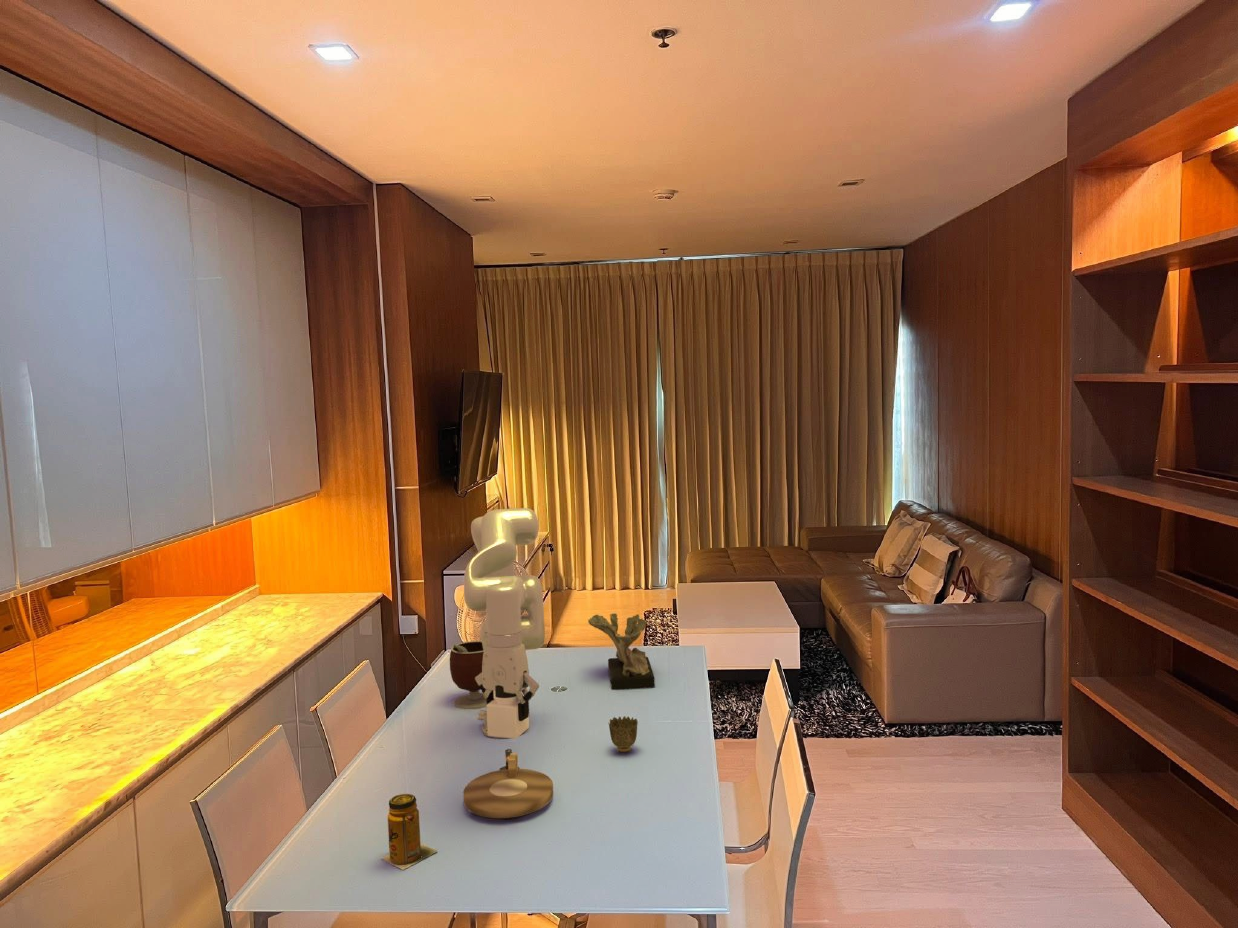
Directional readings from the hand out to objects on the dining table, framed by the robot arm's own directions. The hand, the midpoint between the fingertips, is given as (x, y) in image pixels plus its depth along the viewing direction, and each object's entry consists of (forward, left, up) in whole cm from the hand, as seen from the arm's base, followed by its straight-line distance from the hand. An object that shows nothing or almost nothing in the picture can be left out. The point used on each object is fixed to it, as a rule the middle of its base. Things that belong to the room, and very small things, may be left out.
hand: (508, 715), depth 188 cm
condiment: (-5, -28, -20) cm, 34 cm away
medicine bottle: (0, 0, -4) cm, 4 cm away
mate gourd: (-48, +48, -20) cm, 71 cm away
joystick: (-9, +11, -20) cm, 24 cm away
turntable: (0, -1, -18) cm, 18 cm away
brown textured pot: (+11, +34, -20) cm, 41 cm away
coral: (-16, +84, -20) cm, 88 cm away
